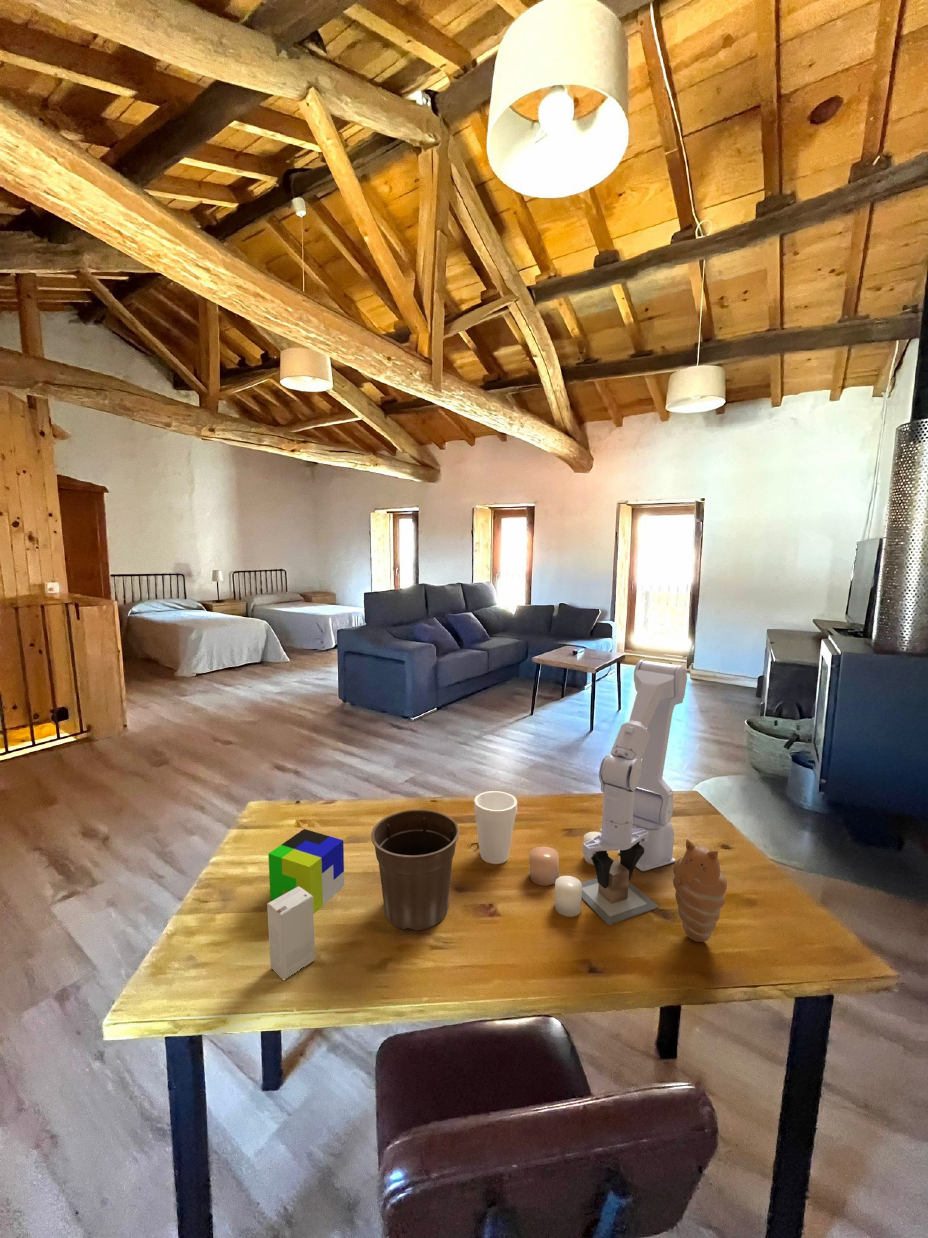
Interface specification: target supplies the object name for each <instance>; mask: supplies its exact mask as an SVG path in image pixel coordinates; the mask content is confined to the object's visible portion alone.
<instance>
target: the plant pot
mask: <svg viewBox="0 0 928 1238" xmlns="http://www.w3.org/2000/svg"><path fill="white" fill-rule="evenodd" d="M459 835H460V828H459V825H458V823H457V822H456V821H455V819H453V818H452V817H450V816H448V815H447V814H444V813H443V812H439V811H435V810H431V809H425V808H424V809H423V808H422V809H419V808H417V809H406V810H401V811H399V812H395V813H392V814H389V815H387V816H386V817H383V818H382V819H380V820H379V821H378V822H377V823H375V825H374V826H373V828H372V831H371V834H370V838H371V839H370V840H371V842H372V845H373V846H374V851H375V857H376V860H377V862H378V868H379V875H380V877H379V878H380V884H381V892H382V900H383V910H384V915H385V917H386V919H387V921H389V922H390V923H391V924H392V925H393V926H395V927H396V928H398V929H401V930H406V929H411V930H413V931H414V932H415V931H423V930H426V929H429V928H432V927H434V926H436V925H438V924H439V923H440V922H441V921H442V920H444V918H445V917H446V915H447V914H448V910H449V906H450V905H449V902H450V890H451V880H452V870H453V869H452V868H453V859H454V856H455V852H456V845H457V841H458V839H459Z"/></svg>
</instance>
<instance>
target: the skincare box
mask: <svg viewBox="0 0 928 1238" xmlns="http://www.w3.org/2000/svg"><path fill="white" fill-rule="evenodd" d="M266 907H267V909H266V910H267V925H268V946H269V962H270V963H269V964H270V969H271V968H272V969H273V970H274V971H275V972H276V973H277V974H278V975H279V976H280V977H281V978H282V979H286V978H288V977H289V976H290V977H292V976H293V975H295V974H296V973H298V972H299V971H300V969H301V968H302V969H304V968H305V967H306V966H308V965H309V964H311V963H312V962H313V961H315V960H316V950H315V948H316V947H315V944H316V943H315V920H314V919H315V917H314V915H315V914H313V896H312V895H311V894H309V893H308V892H306V891H305V890H304V889H302V888H301V887H299V886H298V887H296V888H295V889H293V890H291V891H289V892H287V893H286V894H284V895H282V896H280V897H278V898H277V899H275V900H273V901H269V902H267V904H266ZM303 967H304V968H303ZM272 969H271V970H272ZM302 969H301V970H302ZM273 970H272V971H273ZM274 971H273V972H274ZM297 971H298V972H297ZM275 972H274V973H275ZM276 973H275V974H276ZM294 973H295V974H294ZM277 974H276V975H277ZM292 974H293V975H292ZM278 975H277V976H278ZM291 975H292V976H291ZM279 976H278V977H279ZM280 977H279V978H280ZM290 977H289V978H290ZM281 978H280V979H281ZM289 978H288V979H289ZM282 979H281V980H282ZM286 980H287V979H286Z"/></svg>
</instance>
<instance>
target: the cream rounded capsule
mask: <svg viewBox="0 0 928 1238" xmlns="http://www.w3.org/2000/svg"><path fill="white" fill-rule="evenodd" d="M554 888H555V889H554V909H555V911H556V912H557V913H559V914H560V915H562V916H564V917H569V918H572V917H576V916H578V915H580V913H581V912H582V901H583V899H582V882H581V881H580V880H579V879H578V878H577V877H575V876H571V875H562V876H561V875H560V876H559V878H557V879H556V881H555V884H554Z"/></svg>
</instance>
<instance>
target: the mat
mask: <svg viewBox="0 0 928 1238" xmlns="http://www.w3.org/2000/svg"><path fill="white" fill-rule="evenodd" d="M581 883H582V901H584V903H586V905H587V906H589V907H590V909H591V910H592V911H593V912H595V913H596V915H598V917H599V918H601V920H603V922H604V923H606V925H607V926H611V925H614V924H616V923H619V922H622V921H626V920H628V919H630V918H635V917H637V916H639V915H642V914H645V913H648V912H651V911H654V910H657V909H659V908H660V906H659V905H658V904H656V903H655V902H654V901H653V900H652V899H651V898H650V897H648V896H647V895H646V894H644V892H642V890H639V888H638V887H637V886H635V885H634V884H633V883H631V882H630V881H629V883H628V899H625V900H622V901H619V902H616V903H613V904H611V903H609V902H608V901H607V900H606V899H605V898H604V897H603V896H602V895H601V894H600V893H599V892H598V884H599V883H598V880H597V877H595V878H592V879H589V880H585V881H582V882H581Z"/></svg>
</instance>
